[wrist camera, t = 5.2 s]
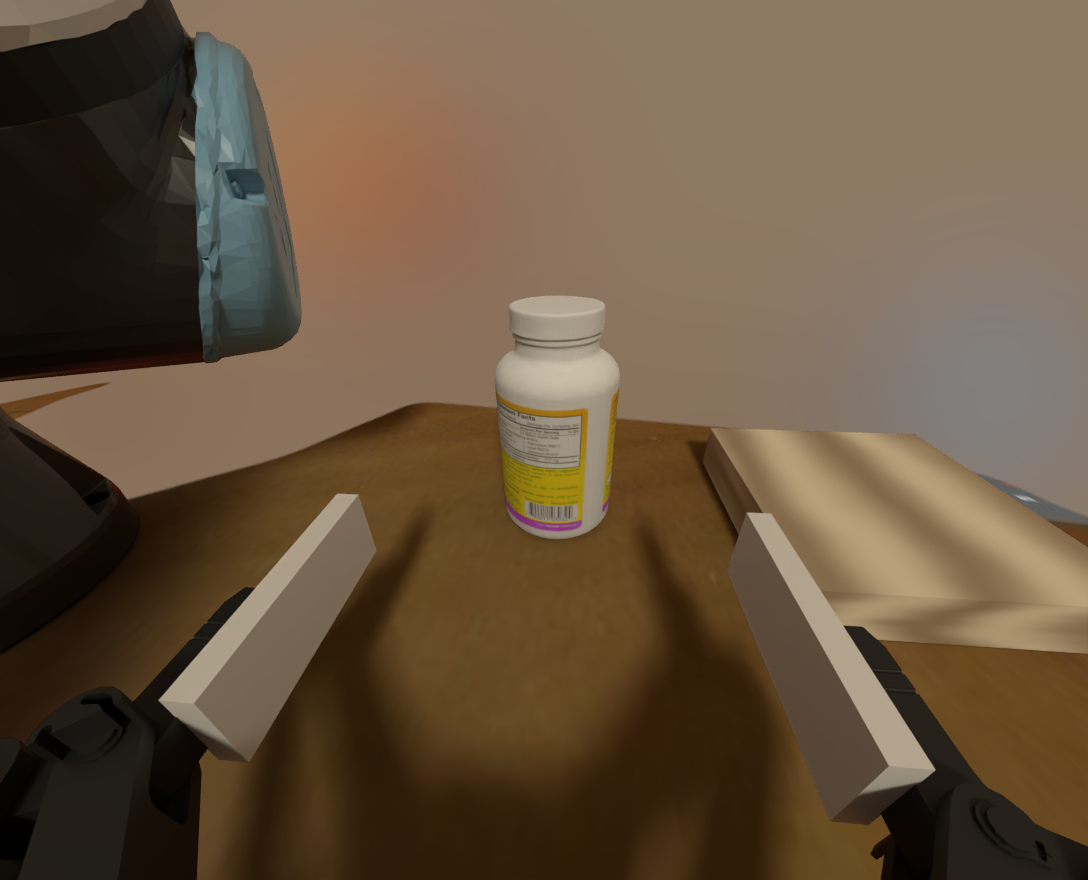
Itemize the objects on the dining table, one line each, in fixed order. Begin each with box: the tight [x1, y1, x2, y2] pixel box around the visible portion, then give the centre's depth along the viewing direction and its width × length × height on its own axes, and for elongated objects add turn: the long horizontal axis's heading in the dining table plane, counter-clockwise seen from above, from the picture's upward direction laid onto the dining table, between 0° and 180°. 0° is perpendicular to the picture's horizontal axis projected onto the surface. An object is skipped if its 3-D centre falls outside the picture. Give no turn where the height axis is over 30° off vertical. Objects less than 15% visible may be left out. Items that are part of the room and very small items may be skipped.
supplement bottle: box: [495, 296, 620, 539], centre depth 22 cm, size 7×7×13 cm
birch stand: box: [703, 428, 1088, 653], centre depth 22 cm, size 14×14×3 cm
